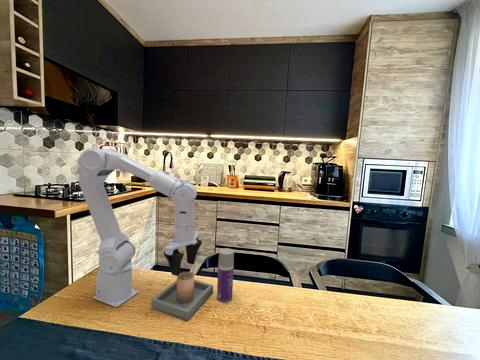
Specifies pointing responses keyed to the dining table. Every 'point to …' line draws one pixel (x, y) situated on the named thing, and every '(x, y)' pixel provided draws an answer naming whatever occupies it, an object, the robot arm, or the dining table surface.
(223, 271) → the container
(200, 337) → the dining table surface
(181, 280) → the cup
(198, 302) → the tray
